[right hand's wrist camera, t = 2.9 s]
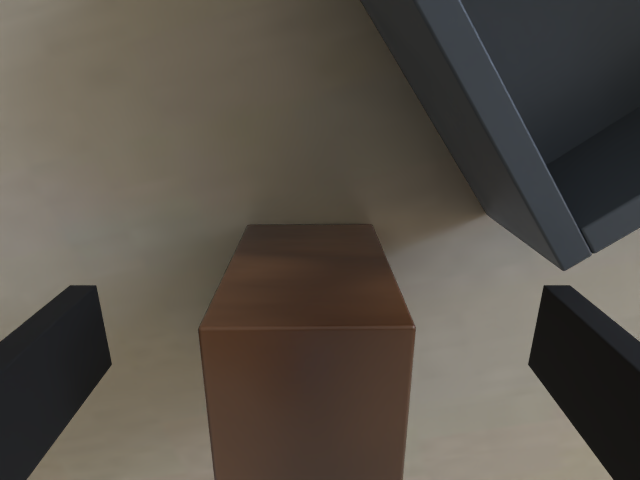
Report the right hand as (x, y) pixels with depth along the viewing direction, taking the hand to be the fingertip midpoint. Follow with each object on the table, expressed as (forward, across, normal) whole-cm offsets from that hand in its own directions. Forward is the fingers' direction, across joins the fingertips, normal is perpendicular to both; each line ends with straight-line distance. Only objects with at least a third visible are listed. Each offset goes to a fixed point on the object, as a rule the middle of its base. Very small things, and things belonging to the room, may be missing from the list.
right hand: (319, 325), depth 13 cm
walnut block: (+3, 0, 0) cm, 3 cm away
